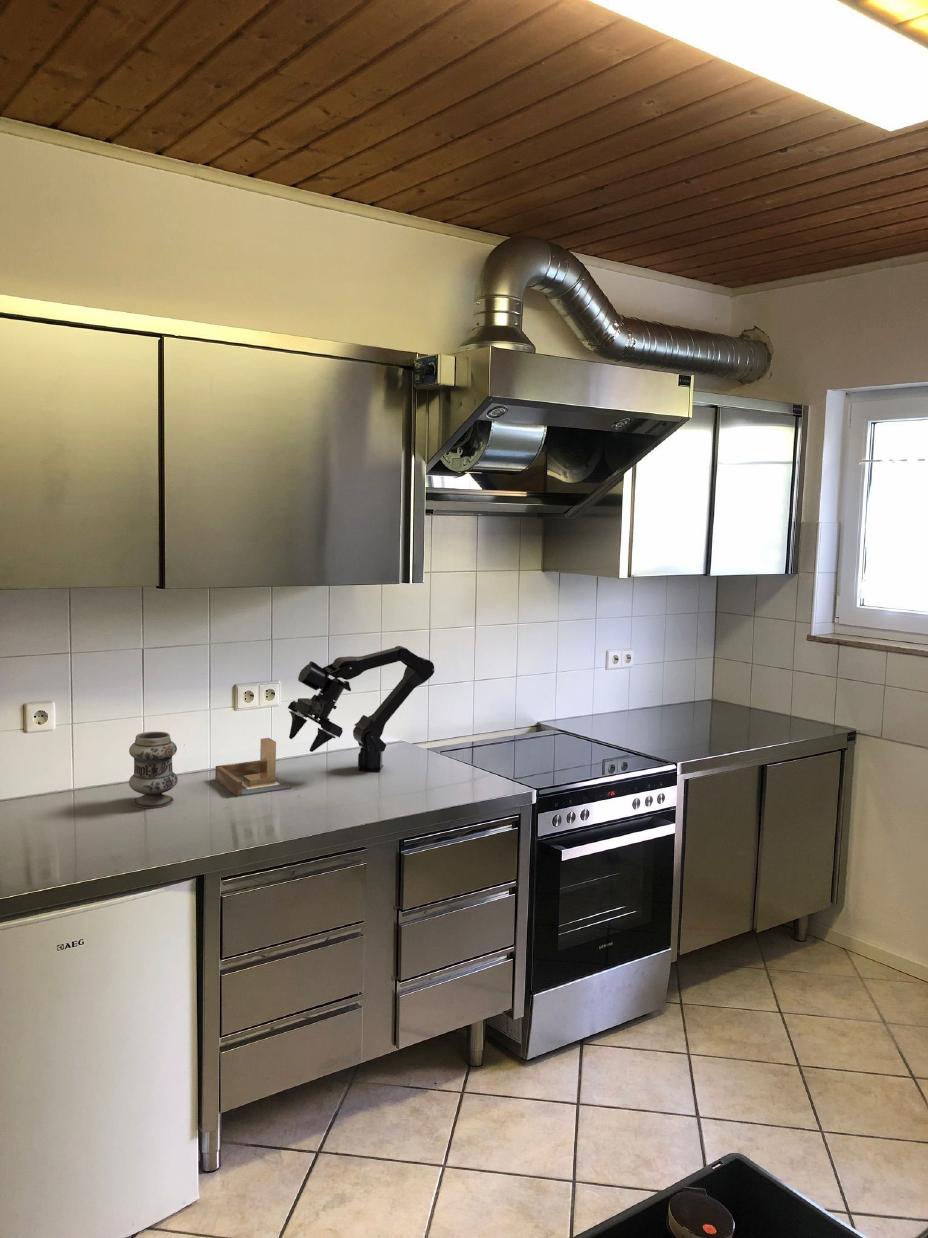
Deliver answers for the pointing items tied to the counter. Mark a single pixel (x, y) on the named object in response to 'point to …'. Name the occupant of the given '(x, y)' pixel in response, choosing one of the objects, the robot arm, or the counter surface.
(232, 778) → the corner walls
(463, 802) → the counter surface
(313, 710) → the robot arm
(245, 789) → the mat
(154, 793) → the apothecary jar
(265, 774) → the wooden l-shaped block
